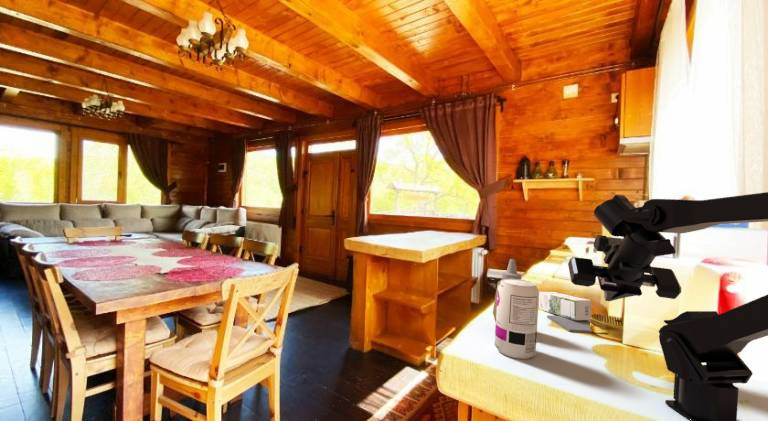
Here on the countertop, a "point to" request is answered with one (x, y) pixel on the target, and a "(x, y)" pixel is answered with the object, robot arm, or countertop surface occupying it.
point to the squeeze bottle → (509, 274)
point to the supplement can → (517, 318)
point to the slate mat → (572, 324)
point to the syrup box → (565, 305)
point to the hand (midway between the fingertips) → (606, 299)
